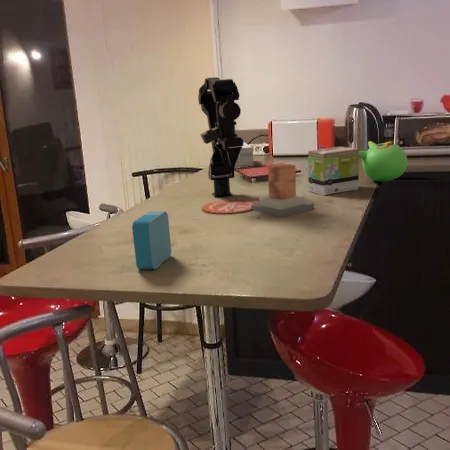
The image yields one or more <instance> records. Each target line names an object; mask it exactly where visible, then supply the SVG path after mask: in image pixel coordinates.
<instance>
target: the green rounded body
mask: <svg viewBox="0 0 450 450" xmlns="http://www.w3.org/2000/svg"><path fill="white" fill-rule="evenodd" d="M367 145H368V149H367V150H359V159H361V160H362V161H361V166H362V170H363V172H364V174H365V175H366V176H367V177H368V178H370V179H371V180H373V181H375V182H376V181H377V182H381V183H382V182H390V181H394V180H396V179H398V178H400V177H401V176H402V175H403V174H404V173H405V171H406V169H407V167H408V157H407V154H406V152H405V150H404V149H403V148H402V147H401V146H399V145H397V144H393V141H387V142H382V143H378V144H377V143H375V142H373V141H371V140H369V141H368V142H367Z"/></svg>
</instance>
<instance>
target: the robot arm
mask: <svg viewBox="0 0 450 450" xmlns="http://www.w3.org/2000/svg"><path fill="white" fill-rule="evenodd" d="M197 98H198V100H197V101H198V104H199V105H200V107H201V111H202V112H203V113H204V115H205V116H206V117H207V118H206V119H207V123H208V125H207V126H208V130H207V129H206V131H204V132H202V133H200V137H201V139H202V141H203V143H204V144H205V145H208V144H210V143H211V148H212V155H211V158H210V161H209V165H208V171H207V174H208V179H209V180H210V181H213V189H214V190H213V191H214V192H212V195H213V197H214V198H223V197H232V196H233V193H232V192H231V187H230V186H231V185H230V184H231V183H230V179H235V169H236V168H235V164H236V161H237V159H238V156H239V153H240V151H241V148H242V146H244V145H243V143H244V139H243V138H242V137H240V136H238V134H237V133H236V126H237V121H236V120H237V119H239V117H240V116H241V111H242V110H241V107H240V105H239V104H238V103H237V102H235V101H239V100H240V99H239V98H240V93H239V89H238V86H237V85H236V82H234V80H233V78H229V79H227V78H225V79H221V78H220V77H207V78H204V83H203V84H202V85H201V87H199V89H198V96H197Z"/></svg>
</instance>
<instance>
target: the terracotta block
mask: <svg viewBox="0 0 450 450" xmlns="http://www.w3.org/2000/svg"><path fill="white" fill-rule="evenodd" d="M267 170H268V171H267V175H268V176H267V177H268V196H269V197H272V198H276V199H280V200H283V199H287V198H291V197H296V195H297V193H296V192H297V191H296V190H297V188H296V185H297V184H296V180H297V179H296V164H291V163H290V164H289V163H284V162H281V163H275V164H271V165H268V166H267Z"/></svg>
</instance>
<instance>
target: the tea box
mask: <svg viewBox="0 0 450 450" xmlns="http://www.w3.org/2000/svg"><path fill="white" fill-rule="evenodd" d="M359 151H360V149H359V148H355V147H347V146H336V147H335V146H334V147H329V148H327V147H326V148H320V149H313V150H308V151H307V156H308V159H307V163H308V164H307V165H308V167H307V169H308V172H307V173H308V174H307V175H308V177H307V179H308V180H307V181H308V192H311V193H313V194H318V195H321V196H327V195H332V194H338V193H343V192H345V193H346V192H351V191H357V190H359V183H360V181H359V175H360V173H359V172H360V171H359V165H360V164H359V163H360V162H359V161H360V160H359V159H360V158H359Z"/></svg>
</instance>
